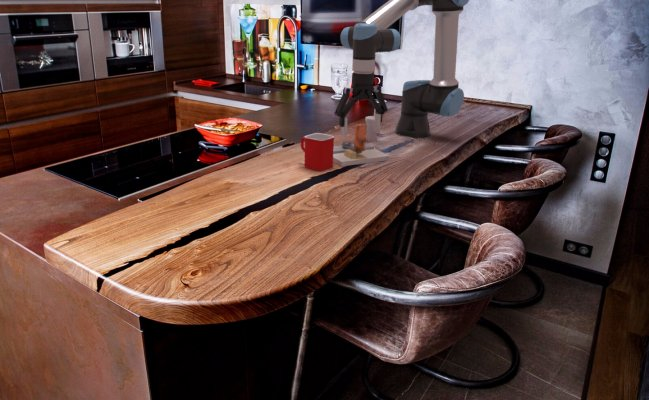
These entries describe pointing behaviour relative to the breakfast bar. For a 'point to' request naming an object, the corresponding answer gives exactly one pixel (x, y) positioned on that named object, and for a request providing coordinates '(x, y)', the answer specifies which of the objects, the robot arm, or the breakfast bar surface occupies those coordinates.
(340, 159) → the door panel
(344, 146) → the latch bar
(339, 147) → the jamb strip
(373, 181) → the breakfast bar surface
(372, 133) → the smoothie
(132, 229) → the breakfast bar surface
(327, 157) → the mug
